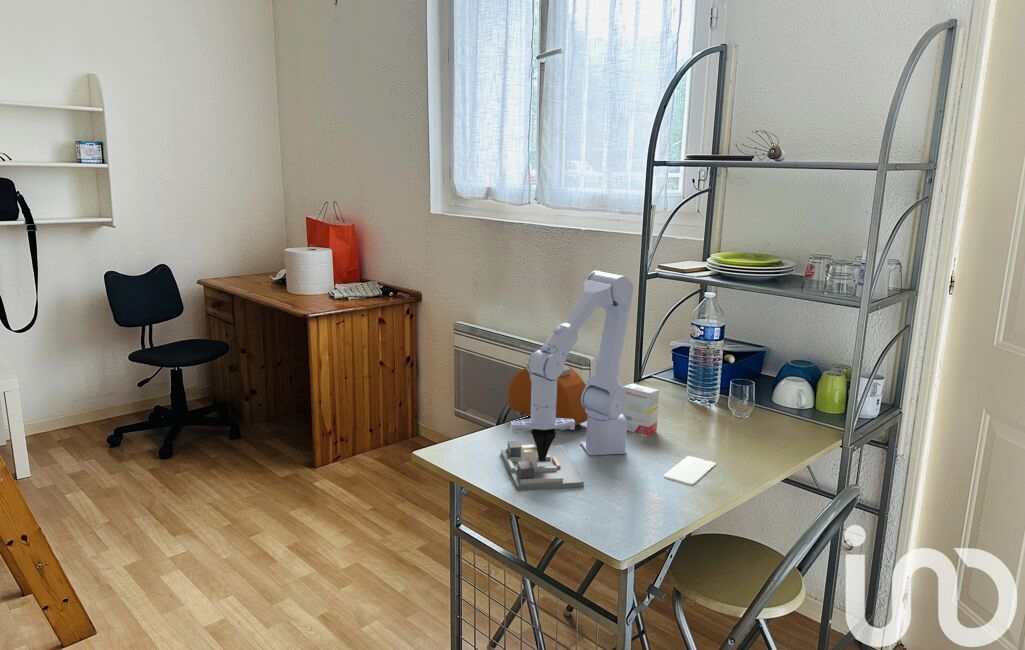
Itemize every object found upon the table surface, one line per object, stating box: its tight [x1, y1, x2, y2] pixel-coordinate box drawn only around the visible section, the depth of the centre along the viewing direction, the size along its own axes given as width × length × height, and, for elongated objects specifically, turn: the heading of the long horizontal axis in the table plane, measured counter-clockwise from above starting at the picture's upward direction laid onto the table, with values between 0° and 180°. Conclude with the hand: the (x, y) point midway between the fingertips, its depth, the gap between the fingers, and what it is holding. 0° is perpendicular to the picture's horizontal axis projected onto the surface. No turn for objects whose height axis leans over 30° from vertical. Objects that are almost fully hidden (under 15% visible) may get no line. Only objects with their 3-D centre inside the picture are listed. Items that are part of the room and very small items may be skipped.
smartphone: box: [663, 455, 717, 486], centre depth 177 cm, size 7×1×15 cm
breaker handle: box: [521, 444, 538, 467], centre depth 173 cm, size 3×4×4 cm
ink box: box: [622, 383, 660, 437], centre depth 199 cm, size 9×5×12 cm, turn 51°
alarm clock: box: [507, 363, 587, 431], centre depth 205 cm, size 23×9×17 cm, turn 46°
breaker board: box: [500, 440, 585, 492], centre depth 174 cm, size 15×20×4 cm
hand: (541, 459), depth 174 cm, fingers closed
